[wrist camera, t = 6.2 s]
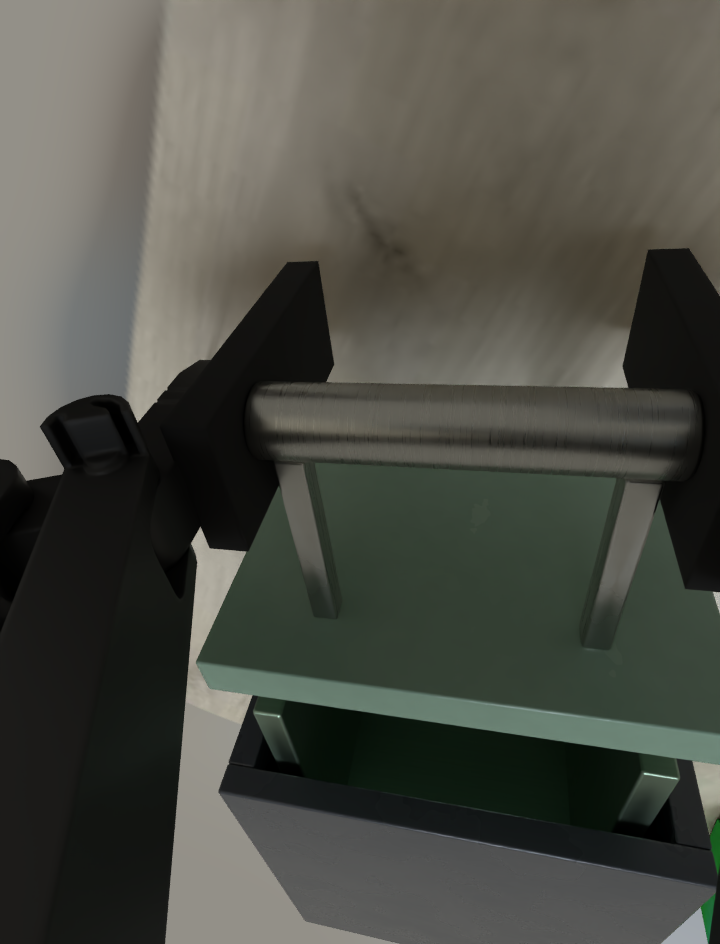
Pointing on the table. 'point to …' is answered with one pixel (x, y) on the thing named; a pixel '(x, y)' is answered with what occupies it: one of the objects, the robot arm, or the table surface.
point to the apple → (719, 851)
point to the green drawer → (475, 597)
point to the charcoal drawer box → (466, 861)
